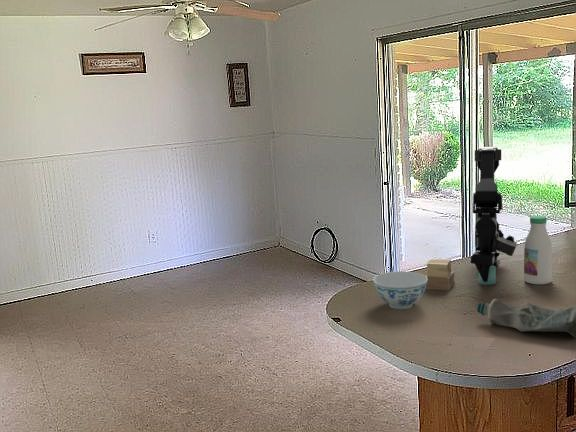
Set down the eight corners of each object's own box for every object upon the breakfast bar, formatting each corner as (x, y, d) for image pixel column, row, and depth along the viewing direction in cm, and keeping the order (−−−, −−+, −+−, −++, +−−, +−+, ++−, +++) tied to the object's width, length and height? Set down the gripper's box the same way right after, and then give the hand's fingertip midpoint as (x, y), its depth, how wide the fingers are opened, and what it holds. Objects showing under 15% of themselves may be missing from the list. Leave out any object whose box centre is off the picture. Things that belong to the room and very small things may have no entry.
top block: (431, 270, 190) (431, 258, 189) (451, 272, 187) (450, 259, 187) (427, 276, 185) (426, 263, 184) (447, 277, 182) (447, 264, 181)
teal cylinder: (480, 279, 190) (479, 264, 189) (496, 280, 188) (496, 265, 187) (477, 284, 186) (477, 268, 185) (494, 285, 183) (494, 269, 182)
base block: (430, 282, 192) (430, 269, 191) (454, 284, 188) (454, 271, 187) (424, 289, 185) (423, 276, 184) (448, 291, 182) (448, 278, 181)
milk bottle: (546, 277, 188) (547, 213, 184) (555, 284, 180) (556, 218, 177) (520, 278, 189) (521, 215, 185) (528, 285, 181) (528, 220, 177)
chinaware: (428, 314, 163) (428, 287, 162) (372, 314, 166) (371, 287, 165) (427, 296, 178) (426, 271, 176) (375, 296, 181) (374, 271, 179)
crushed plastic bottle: (589, 326, 148) (486, 309, 162) (591, 299, 146) (486, 285, 160) (579, 350, 138) (470, 330, 152) (580, 322, 136) (470, 304, 150)
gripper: (510, 237, 172) (510, 290, 175) (518, 224, 188) (518, 272, 191) (470, 236, 177) (470, 287, 180) (481, 222, 193) (482, 270, 196)
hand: (486, 279), depth 186 cm, fingers closed on teal cylinder, 5 cm apart
